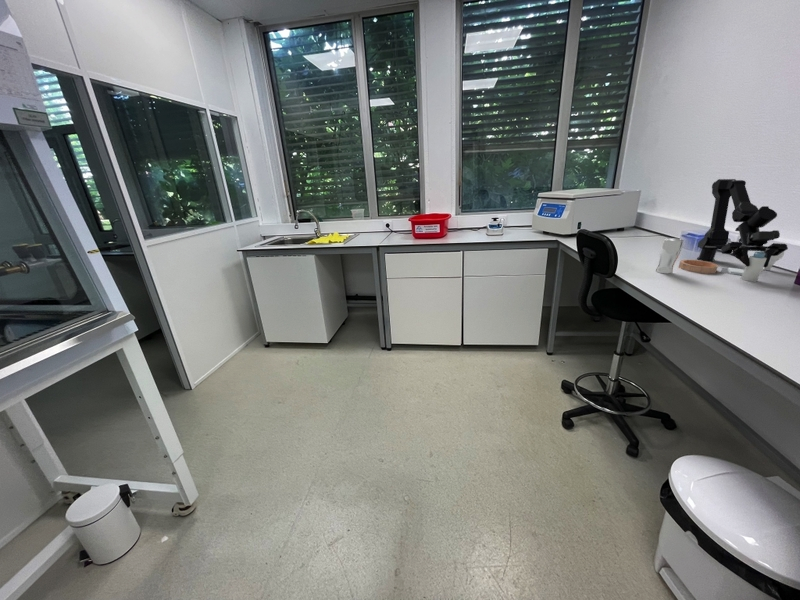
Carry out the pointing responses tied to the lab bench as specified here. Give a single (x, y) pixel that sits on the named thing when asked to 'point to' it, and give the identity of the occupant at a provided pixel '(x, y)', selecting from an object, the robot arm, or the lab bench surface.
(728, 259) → the lab bench surface
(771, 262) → the lightbulb
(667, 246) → the beer glass
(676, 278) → the lab bench surface
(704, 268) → the bowl
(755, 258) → the bottle
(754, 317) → the lab bench surface
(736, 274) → the mat
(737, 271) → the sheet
